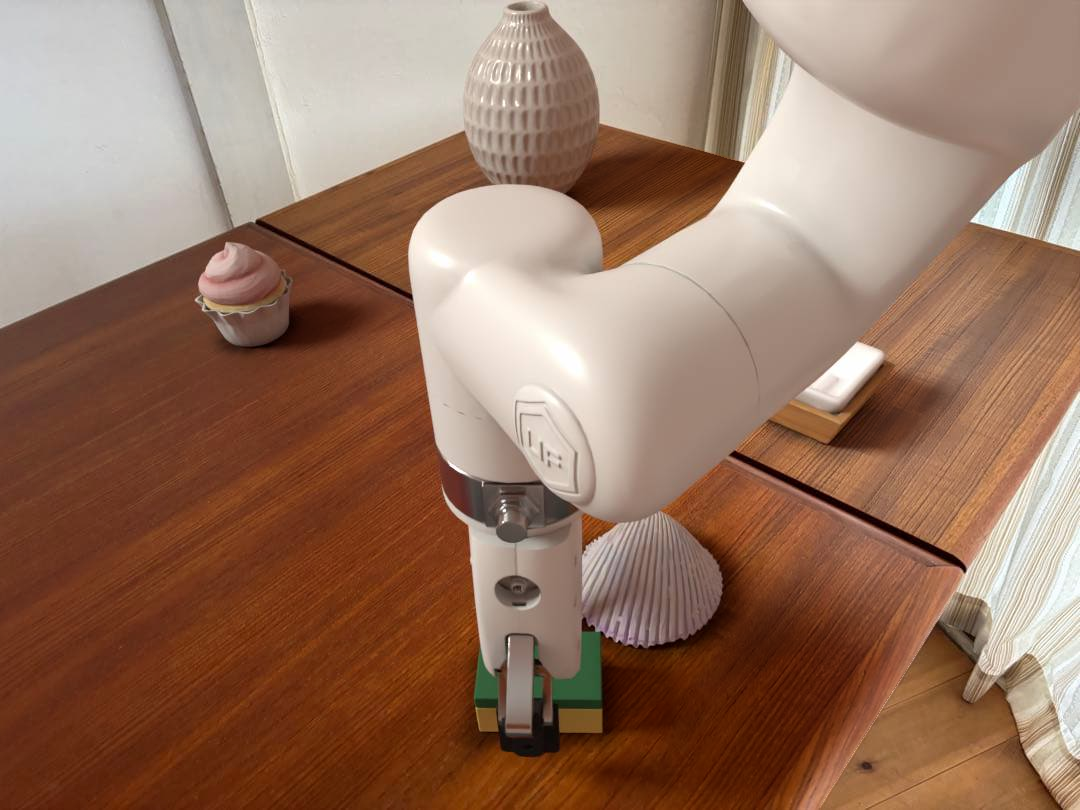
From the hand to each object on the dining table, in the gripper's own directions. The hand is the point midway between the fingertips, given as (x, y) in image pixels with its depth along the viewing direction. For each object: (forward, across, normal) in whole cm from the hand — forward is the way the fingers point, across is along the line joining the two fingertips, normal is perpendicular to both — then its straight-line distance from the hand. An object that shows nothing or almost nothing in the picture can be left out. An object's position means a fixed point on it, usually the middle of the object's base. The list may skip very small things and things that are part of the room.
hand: (534, 669), depth 50 cm
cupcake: (+4, +41, +30) cm, 51 cm away
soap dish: (+3, +28, -21) cm, 35 cm away
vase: (+4, +71, +3) cm, 71 cm away
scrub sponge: (+2, 0, 0) cm, 2 cm away
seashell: (+3, +8, -7) cm, 11 cm away
